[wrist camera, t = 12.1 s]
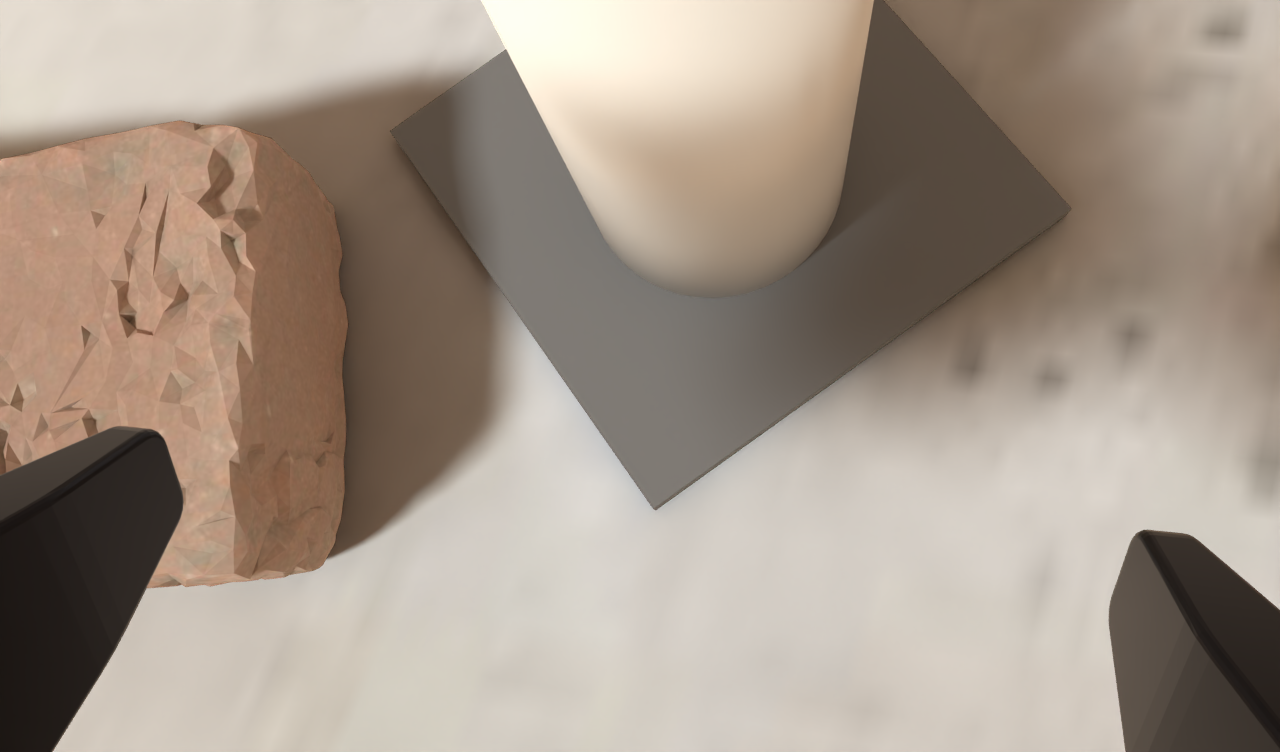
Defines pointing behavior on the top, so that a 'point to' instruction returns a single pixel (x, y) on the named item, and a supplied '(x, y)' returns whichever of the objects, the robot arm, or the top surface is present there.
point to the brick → (183, 333)
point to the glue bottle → (697, 125)
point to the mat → (748, 323)
